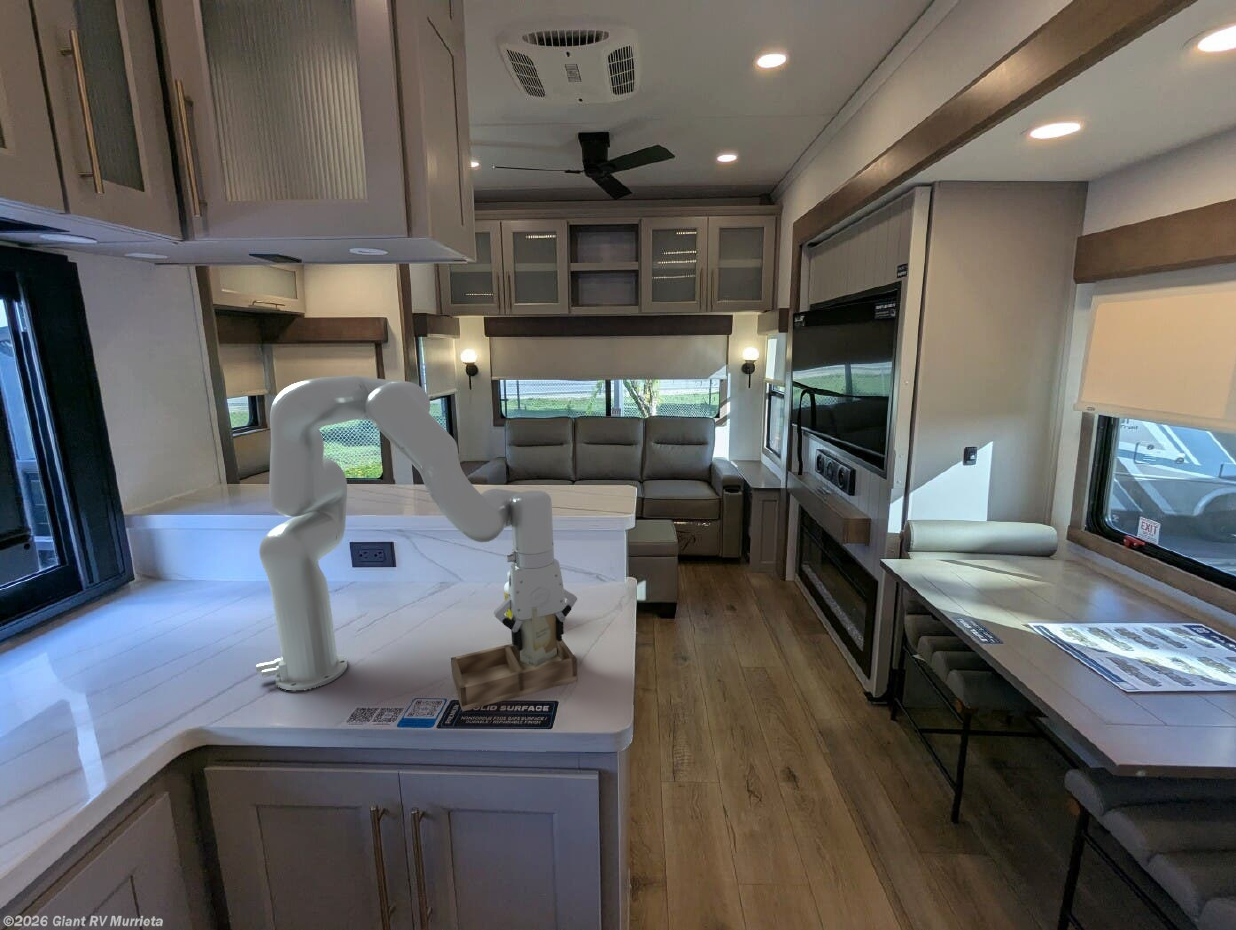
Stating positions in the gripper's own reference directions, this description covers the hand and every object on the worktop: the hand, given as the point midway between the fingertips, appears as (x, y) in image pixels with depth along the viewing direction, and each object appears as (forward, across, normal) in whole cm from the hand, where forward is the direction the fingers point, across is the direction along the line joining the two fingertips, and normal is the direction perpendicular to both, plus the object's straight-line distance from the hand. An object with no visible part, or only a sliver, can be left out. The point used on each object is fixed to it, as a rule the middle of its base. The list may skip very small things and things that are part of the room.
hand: (538, 642), depth 111 cm
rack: (+7, -5, 0) cm, 8 cm away
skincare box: (+4, 0, 0) cm, 4 cm away
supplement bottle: (+7, +2, +22) cm, 23 cm away
